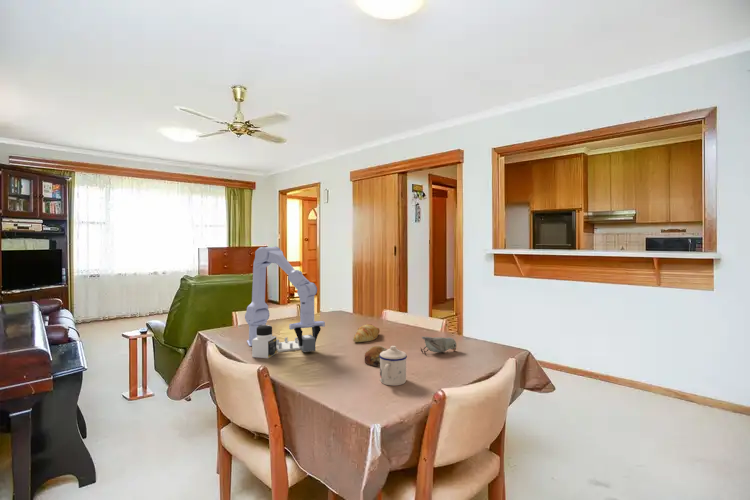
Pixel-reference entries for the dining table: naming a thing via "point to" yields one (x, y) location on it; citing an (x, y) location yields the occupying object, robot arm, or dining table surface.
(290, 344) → the white peg board
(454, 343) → the decorative bird
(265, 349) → the medicine bottle
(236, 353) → the dining table surface
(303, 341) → the block
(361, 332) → the croissant
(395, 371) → the teacup with lid
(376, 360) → the bread roll
